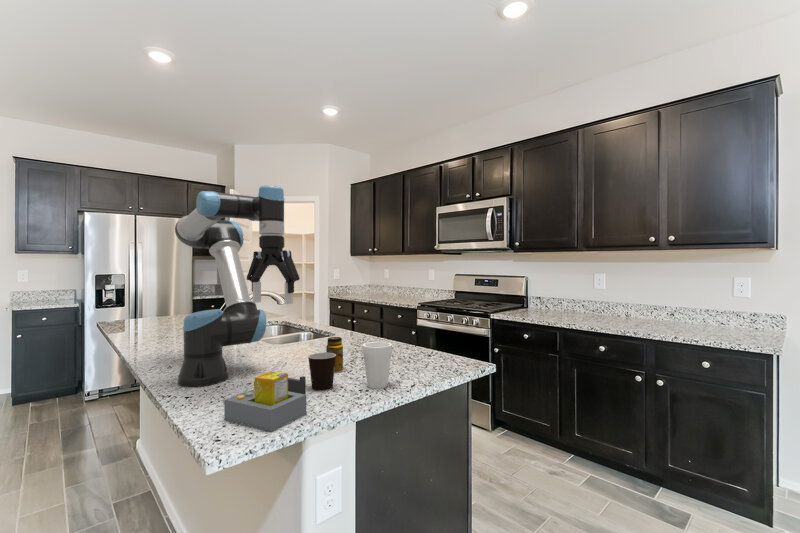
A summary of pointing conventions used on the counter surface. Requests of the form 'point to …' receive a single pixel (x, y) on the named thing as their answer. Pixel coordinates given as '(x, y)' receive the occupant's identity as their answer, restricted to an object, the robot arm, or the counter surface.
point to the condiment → (336, 352)
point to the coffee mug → (322, 370)
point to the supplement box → (271, 388)
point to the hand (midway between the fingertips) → (272, 303)
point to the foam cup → (377, 363)
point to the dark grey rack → (296, 385)
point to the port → (264, 410)
